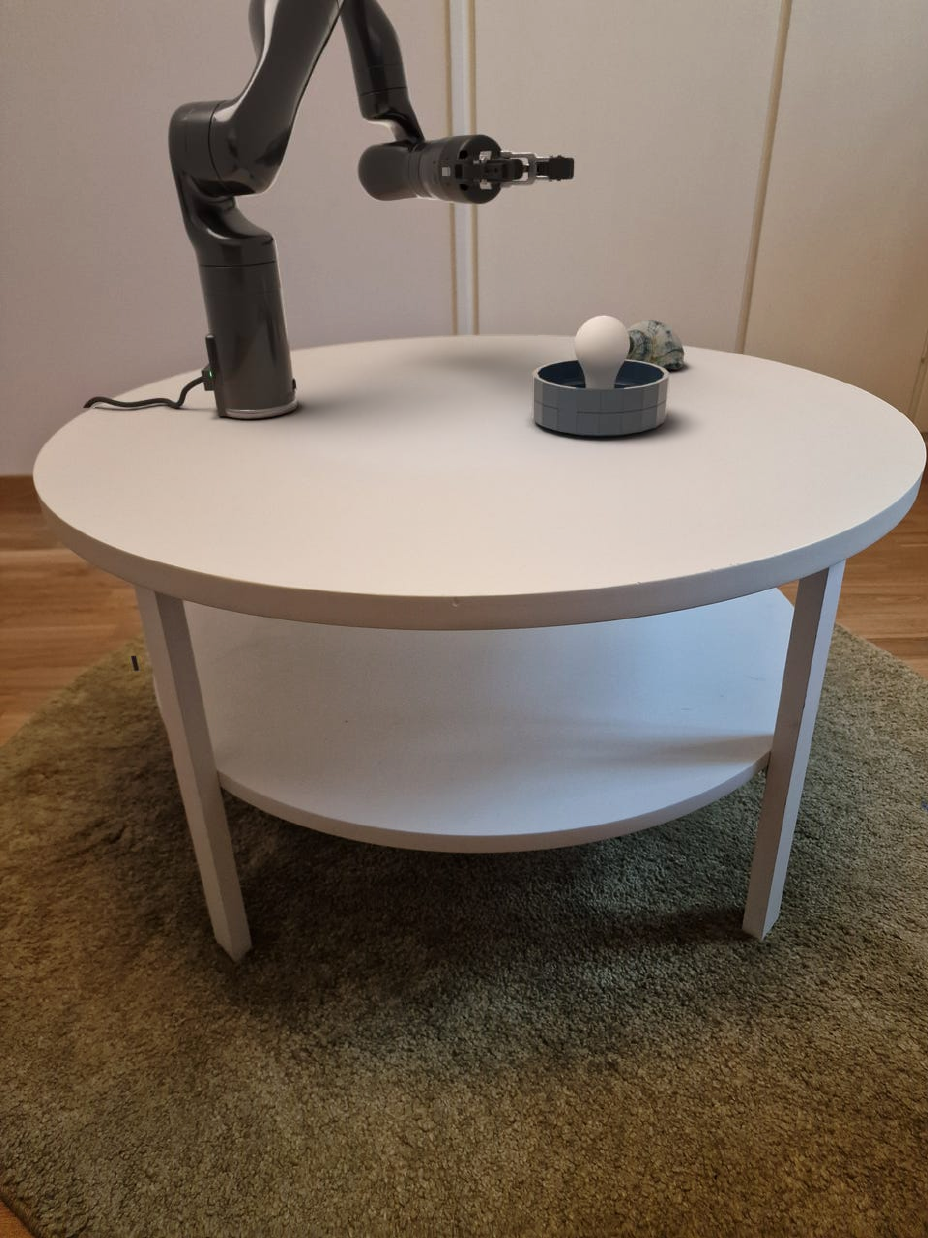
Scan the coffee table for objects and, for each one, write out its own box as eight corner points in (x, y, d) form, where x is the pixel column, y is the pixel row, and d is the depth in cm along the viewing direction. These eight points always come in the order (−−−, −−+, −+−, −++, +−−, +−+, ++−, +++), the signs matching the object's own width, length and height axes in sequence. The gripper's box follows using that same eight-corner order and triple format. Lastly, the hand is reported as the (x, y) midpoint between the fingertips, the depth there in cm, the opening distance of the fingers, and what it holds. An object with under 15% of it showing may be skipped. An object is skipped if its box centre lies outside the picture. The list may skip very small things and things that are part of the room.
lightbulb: (568, 421, 97) (572, 320, 91) (575, 407, 102) (578, 310, 96) (623, 423, 95) (629, 321, 90) (627, 409, 100) (633, 311, 95)
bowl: (539, 443, 92) (540, 392, 89) (526, 405, 105) (526, 360, 103) (679, 438, 92) (684, 387, 90) (648, 401, 105) (652, 355, 103)
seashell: (691, 380, 120) (609, 385, 118) (674, 348, 125) (595, 352, 123) (704, 341, 115) (619, 346, 113) (686, 309, 120) (604, 313, 118)
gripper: (410, 135, 101) (489, 131, 89) (507, 134, 108) (592, 129, 96) (414, 206, 105) (490, 210, 93) (507, 200, 111) (589, 203, 99)
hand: (542, 169), depth 94 cm, fingers open, 8 cm apart
